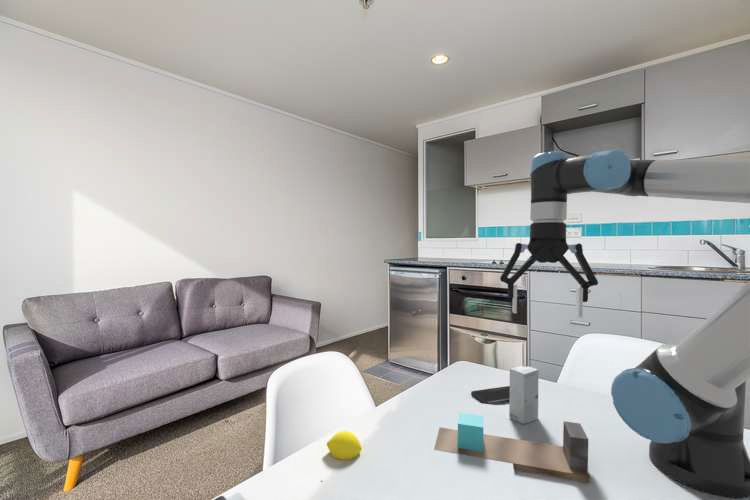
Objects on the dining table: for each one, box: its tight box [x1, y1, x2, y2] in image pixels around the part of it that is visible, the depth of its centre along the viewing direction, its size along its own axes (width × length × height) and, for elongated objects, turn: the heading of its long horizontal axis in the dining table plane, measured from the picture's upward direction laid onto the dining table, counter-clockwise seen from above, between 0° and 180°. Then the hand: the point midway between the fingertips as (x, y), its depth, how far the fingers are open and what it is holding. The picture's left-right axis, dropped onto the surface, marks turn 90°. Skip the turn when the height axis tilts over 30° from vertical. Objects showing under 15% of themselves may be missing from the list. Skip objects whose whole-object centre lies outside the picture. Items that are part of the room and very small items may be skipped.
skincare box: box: [508, 364, 539, 425], centre depth 89 cm, size 6×4×12 cm
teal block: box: [457, 412, 485, 452], centre depth 76 cm, size 5×5×5 cm
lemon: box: [326, 430, 362, 461], centre depth 72 cm, size 7×5×5 cm
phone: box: [470, 385, 510, 406], centre depth 101 cm, size 8×1×15 cm
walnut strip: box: [434, 421, 591, 484], centre depth 74 cm, size 28×9×7 cm, turn 73°
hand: (545, 314), depth 83 cm, fingers open, 13 cm apart
